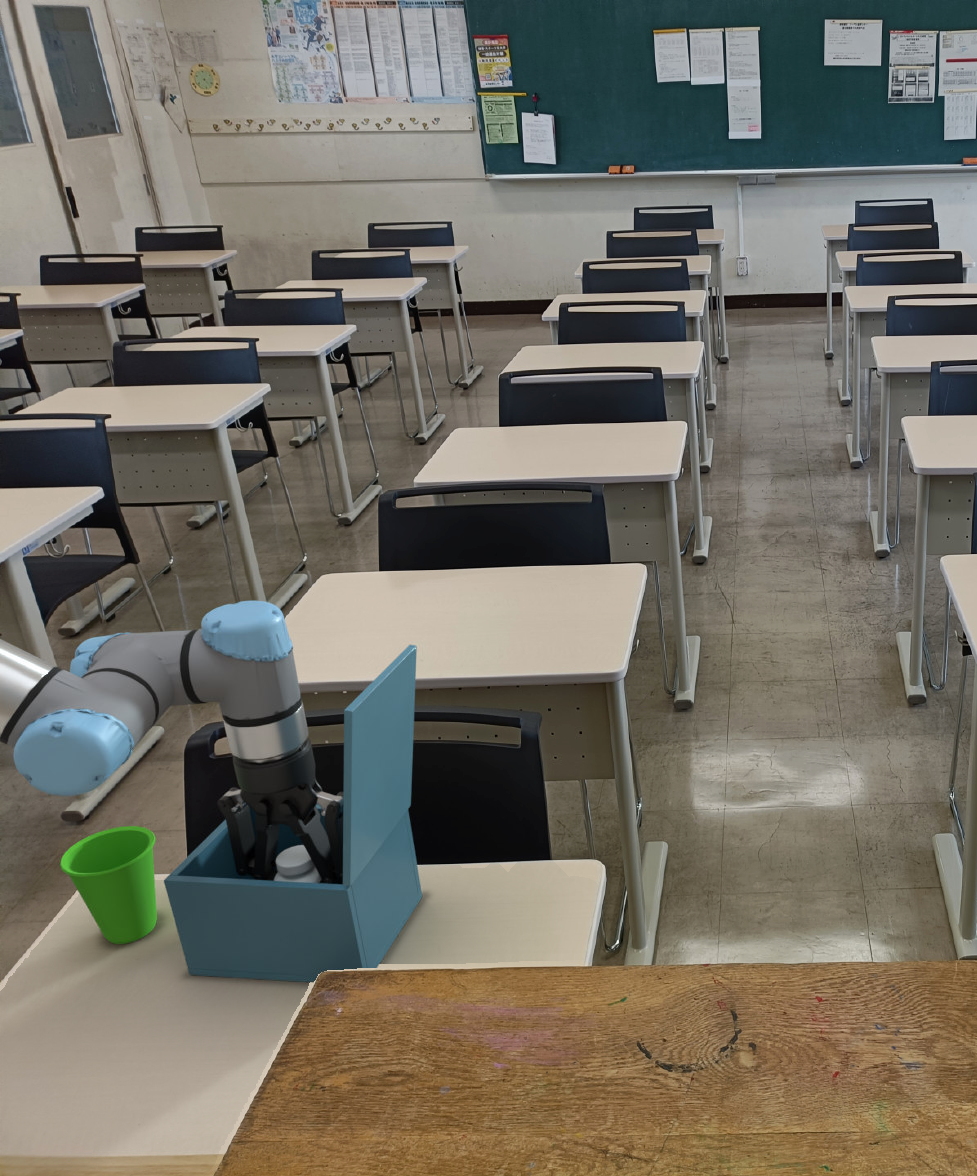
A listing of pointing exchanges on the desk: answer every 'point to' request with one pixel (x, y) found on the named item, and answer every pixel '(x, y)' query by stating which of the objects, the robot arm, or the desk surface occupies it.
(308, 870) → the supplement bottle
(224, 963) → the chest
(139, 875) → the cup
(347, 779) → the lid
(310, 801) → the robot arm
